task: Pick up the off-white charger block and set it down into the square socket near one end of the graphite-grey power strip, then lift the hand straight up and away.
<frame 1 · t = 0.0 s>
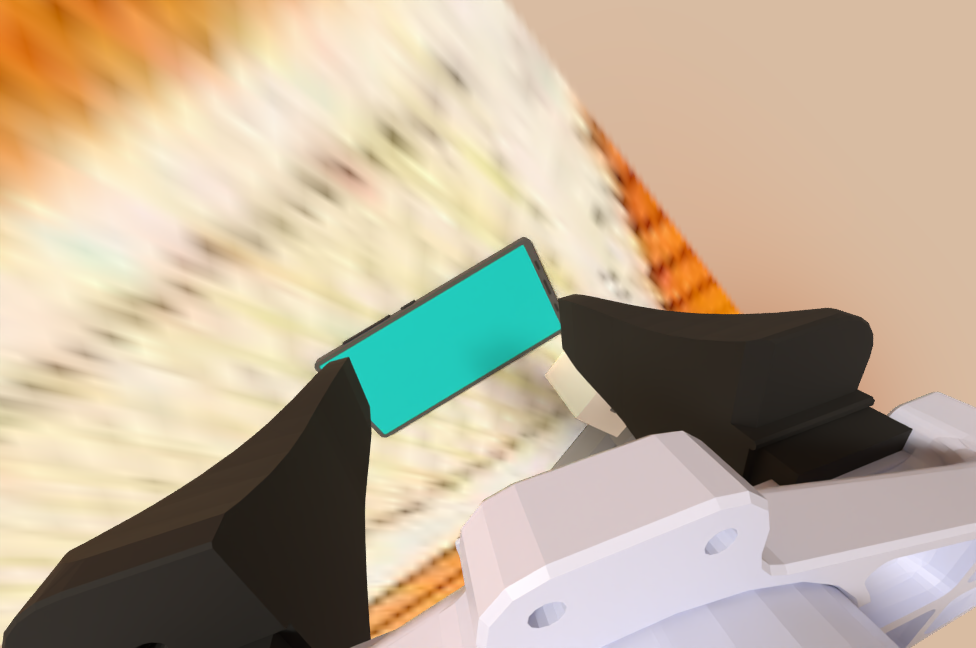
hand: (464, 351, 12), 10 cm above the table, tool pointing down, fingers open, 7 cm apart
smartphone: (448, 337, 24), on the table
charger: (579, 364, 27), on the table
power strip: (626, 427, 31), on the table
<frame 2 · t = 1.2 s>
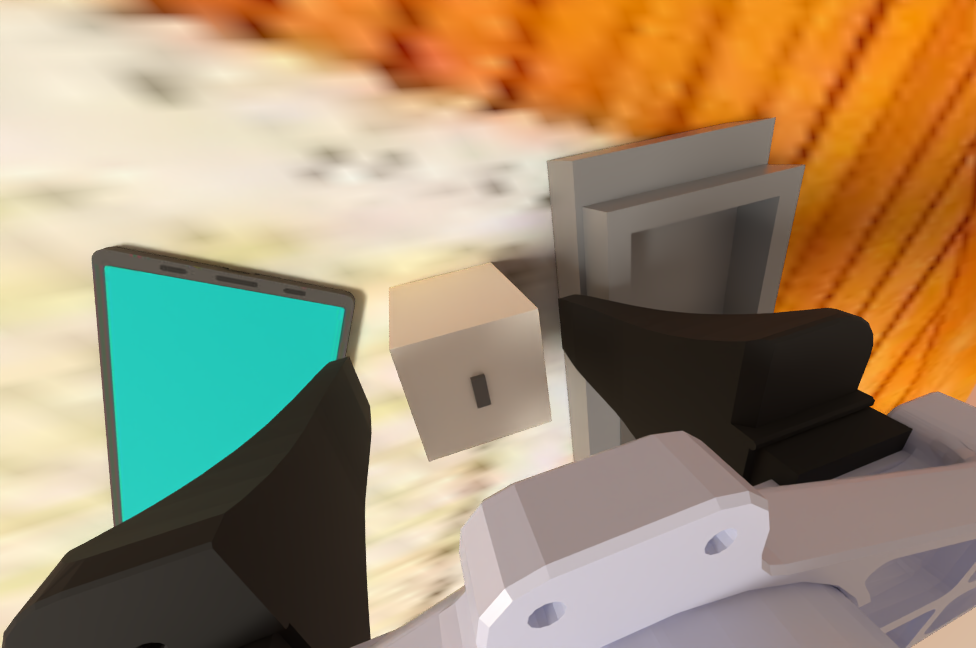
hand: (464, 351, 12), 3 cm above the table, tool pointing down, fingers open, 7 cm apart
smartphone: (235, 437, 15), on the table
charger: (452, 320, 14), on the table
power strip: (636, 326, 17), on the table
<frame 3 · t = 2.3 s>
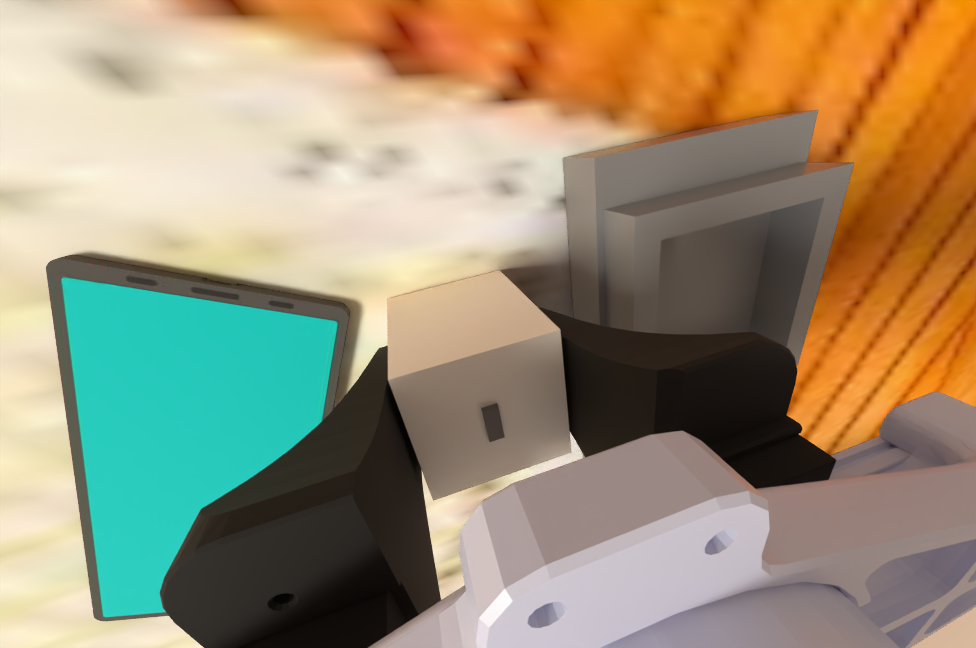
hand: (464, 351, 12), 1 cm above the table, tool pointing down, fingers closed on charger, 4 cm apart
smartphone: (219, 460, 13), on the table
charger: (456, 333, 13), on the table, touching gripper
power strip: (654, 337, 16), on the table
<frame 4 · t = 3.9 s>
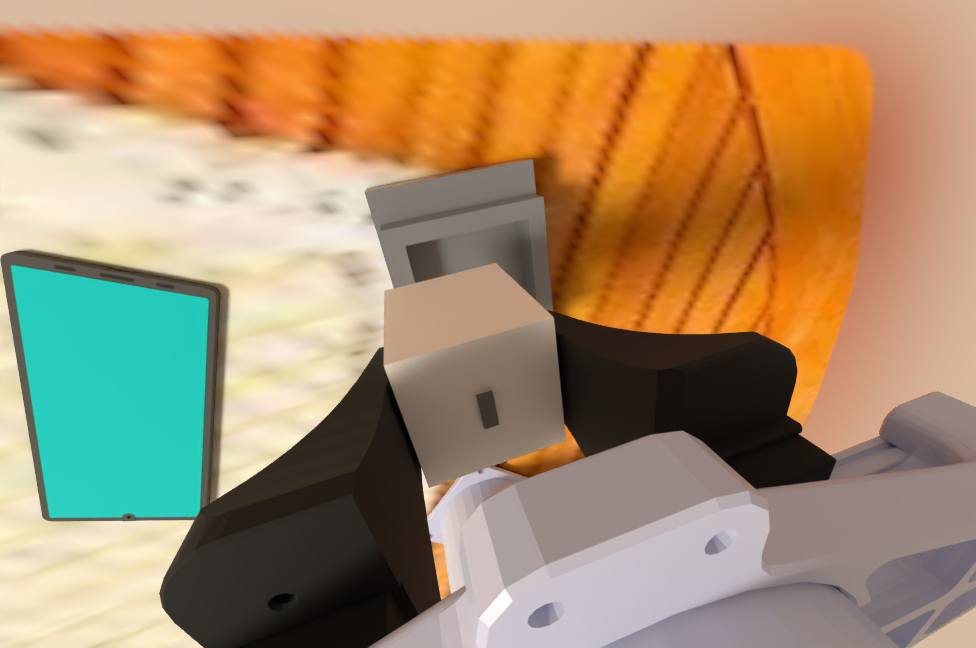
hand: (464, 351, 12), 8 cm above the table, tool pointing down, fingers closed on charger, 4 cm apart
smartphone: (135, 401, 19), on the table
charger: (453, 326, 13), point 7 cm above the table, touching gripper
power strip: (474, 318, 21), on the table
when the fingers open (4 cm above the table, at t = 5.6 s): charger stays where it is, resting on power strip.
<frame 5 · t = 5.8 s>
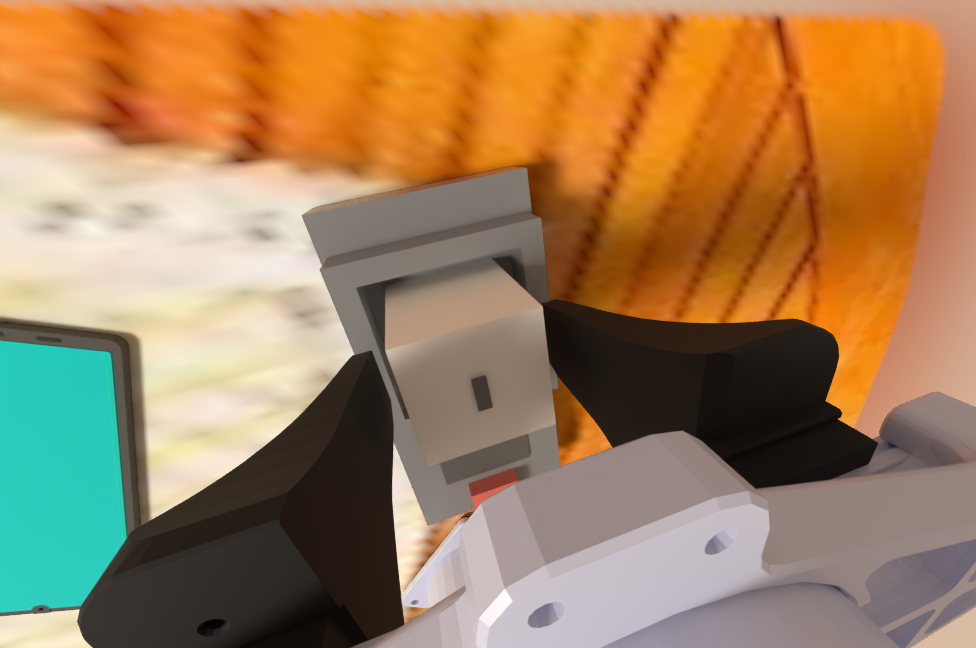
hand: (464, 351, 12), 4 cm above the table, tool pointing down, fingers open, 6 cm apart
smartphone: (36, 474, 15), on the table
charger: (451, 318, 14), point 2 cm above the table, touching power strip
power strip: (459, 359, 17), on the table
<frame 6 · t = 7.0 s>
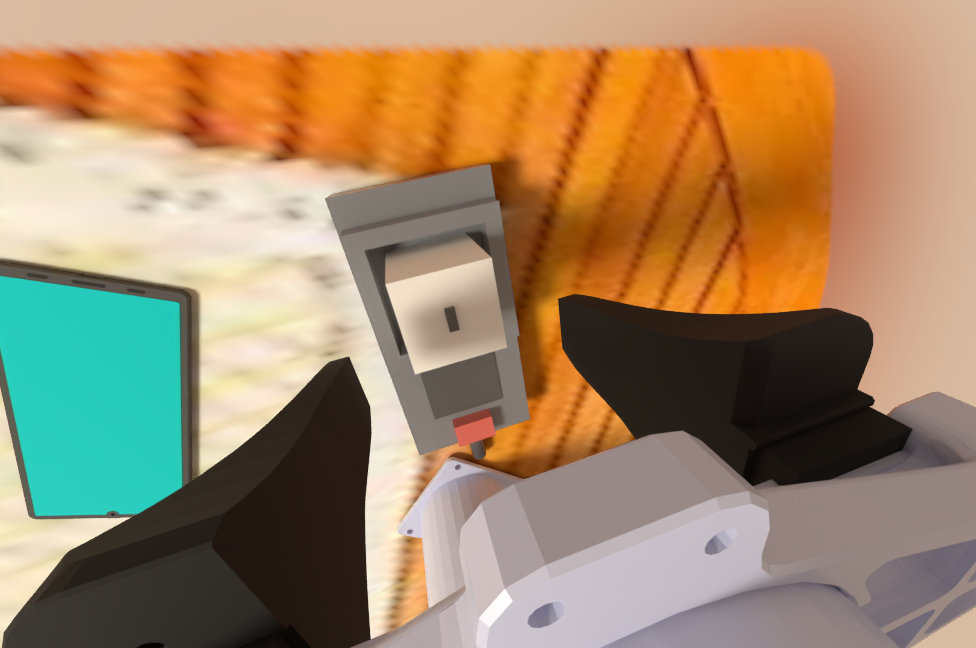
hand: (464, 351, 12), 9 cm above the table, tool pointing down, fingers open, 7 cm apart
smartphone: (114, 402, 19), on the table
charger: (435, 280, 18), point 2 cm above the table, touching power strip
power strip: (444, 318, 21), on the table
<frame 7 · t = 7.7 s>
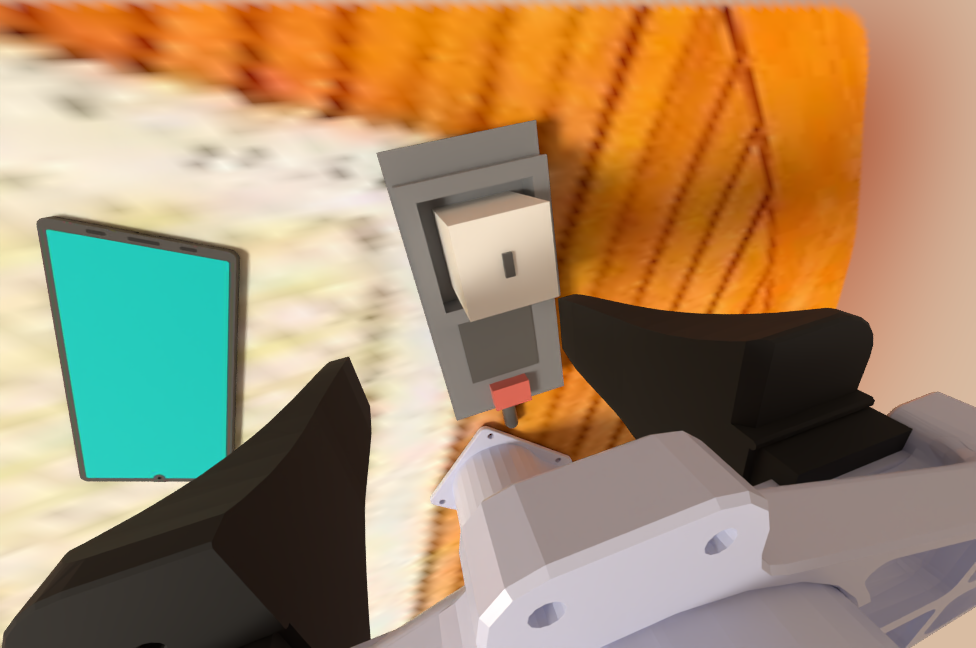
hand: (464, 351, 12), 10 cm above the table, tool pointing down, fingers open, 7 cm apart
smartphone: (162, 365, 19), on the table
charger: (479, 239, 18), point 2 cm above the table, touching power strip
power strip: (481, 283, 22), on the table
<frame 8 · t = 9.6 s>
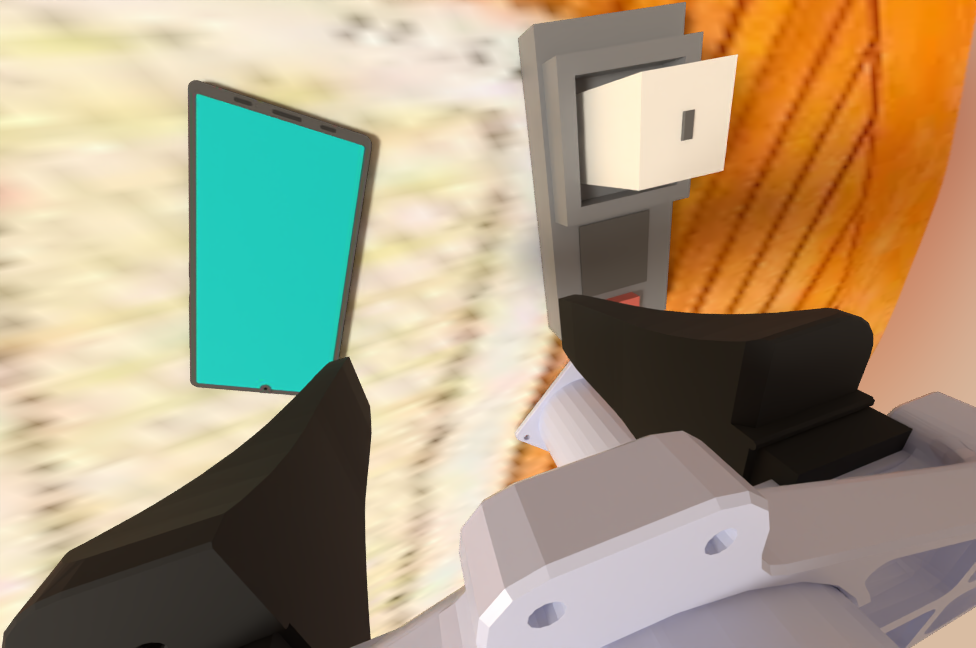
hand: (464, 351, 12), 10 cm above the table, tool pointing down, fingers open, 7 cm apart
smartphone: (279, 265, 19), on the table
charger: (613, 133, 18), point 2 cm above the table, touching power strip
power strip: (595, 194, 21), on the table
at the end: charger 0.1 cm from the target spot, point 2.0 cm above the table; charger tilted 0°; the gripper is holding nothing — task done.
